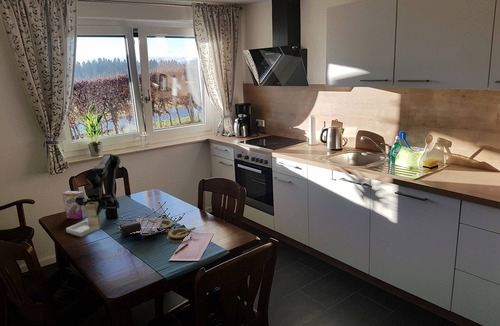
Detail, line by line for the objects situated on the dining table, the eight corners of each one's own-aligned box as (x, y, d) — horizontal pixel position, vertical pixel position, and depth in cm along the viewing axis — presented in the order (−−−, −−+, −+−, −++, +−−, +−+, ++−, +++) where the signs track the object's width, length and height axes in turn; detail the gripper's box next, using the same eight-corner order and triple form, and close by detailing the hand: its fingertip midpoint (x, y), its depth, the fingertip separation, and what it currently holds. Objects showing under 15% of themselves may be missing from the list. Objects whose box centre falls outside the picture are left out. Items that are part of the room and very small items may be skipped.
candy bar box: (66, 218, 229) (61, 193, 225) (71, 215, 234) (67, 190, 230) (82, 219, 227) (78, 193, 223) (87, 216, 232) (83, 191, 228)
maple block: (92, 226, 203) (88, 201, 199) (100, 226, 203) (97, 201, 199) (89, 230, 198) (85, 205, 194) (98, 229, 198) (94, 204, 195)
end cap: (123, 239, 200) (121, 227, 198) (120, 234, 206) (118, 223, 204) (142, 234, 205) (140, 223, 203) (138, 230, 211) (137, 218, 209)
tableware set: (141, 231, 211) (140, 221, 209) (172, 220, 224) (171, 211, 222) (171, 248, 190) (169, 237, 188) (202, 235, 203) (201, 225, 201)
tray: (86, 223, 221) (85, 220, 220) (100, 228, 215) (99, 224, 214) (66, 232, 210) (65, 228, 210) (81, 236, 204) (80, 232, 204)
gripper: (73, 182, 198) (68, 210, 190) (109, 181, 199) (105, 208, 191) (81, 191, 208) (76, 218, 200) (115, 190, 208) (112, 216, 201)
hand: (92, 215), depth 198 cm, fingers closed on maple block, 4 cm apart
